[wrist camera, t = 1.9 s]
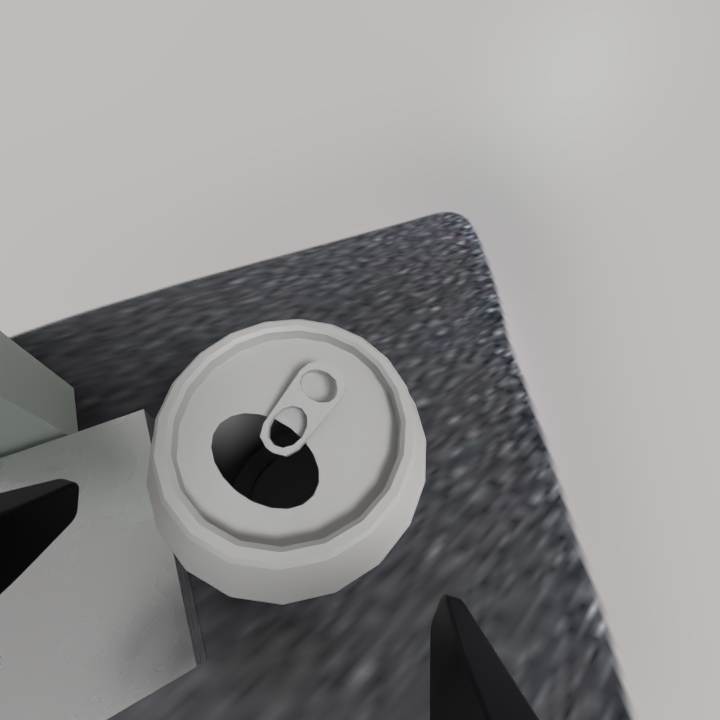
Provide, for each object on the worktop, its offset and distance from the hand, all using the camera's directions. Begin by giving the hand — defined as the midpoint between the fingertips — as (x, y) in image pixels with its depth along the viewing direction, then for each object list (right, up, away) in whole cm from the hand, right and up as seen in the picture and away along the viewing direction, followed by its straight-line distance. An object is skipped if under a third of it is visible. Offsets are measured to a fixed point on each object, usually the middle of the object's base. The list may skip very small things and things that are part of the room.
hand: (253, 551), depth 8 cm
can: (0, -3, +10) cm, 11 cm away
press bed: (-12, -6, +7) cm, 15 cm away
